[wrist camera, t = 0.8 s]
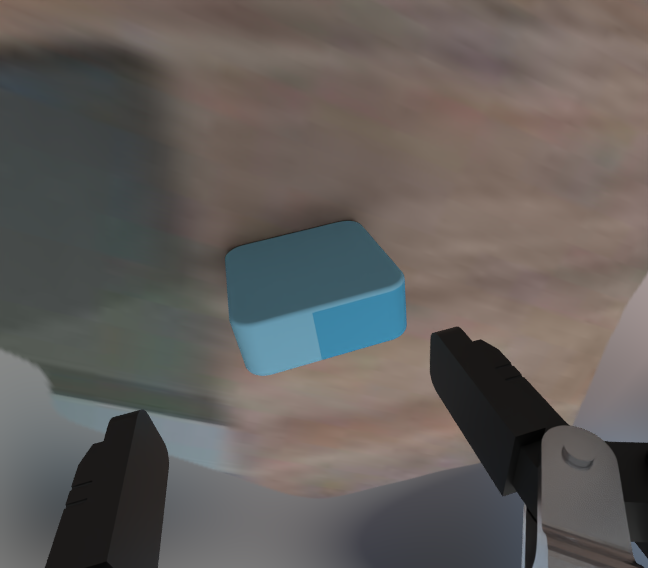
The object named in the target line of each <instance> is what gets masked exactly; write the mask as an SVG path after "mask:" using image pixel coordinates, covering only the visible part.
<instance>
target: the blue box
mask: <svg viewBox="0 0 648 568" xmlns="http://www.w3.org/2000/svg"><path fill="white" fill-rule="evenodd" d="M225 265H226V279H227V293H228V307H229V320H230V323H231V326H232V329H233V332H234V334H235V337H236V340H237V343H238V346H239V349H240V351H241V354H242V357H243V360H244V363H245V366H246V368H247V369H248V370H249V371H250V372H251V373H253V374H256V375H261V376H265V375H271V374H275V373H278V372H282V371H285V370H289V369H292V368H296V367H299V366H303V365H306V364H310V363H313V362H317V361H320V360H323V359H327V358H330V357H334V356H337V355H341V354H344V353H348V352H351V351H355V350H358V349H362V348H365V347H369V346H372V345H375V344H379V343H382V342H386V341H389V340H393V339H395V338H397V337H399V336H400V335H402V334H403V332H404V331H405V329H406V325H407V322H406V301H405V279H404V274H403V273H402V271H401V270H400V269H399V268H398V267H397V266H396V264H395V263H394V262H393V261H392V260H391V259H390V257H389V256H388V255H387V254H386V253H385V252H384V251H383V249H382V248H381V247H380V246H379V245H378V244H377V242H376V241H375V240H374V239H373V238H372V237H371V236H370V234H369V233H368V232H367V231H366V230H365V229H364V228H363V226H362V225H361V224H359V223H358V222H354V221H341V222H336V223H332V224H328V225H324V226H320V227H316V228H312V229H308V230H303V231H299V232H295V233H291V234H287V235H283V236H279V237H275V238H271V239H266V240H262V241H258V242H254V243H250V244H246V245H242V246H239V247H236V248H234V249H232V250H231V251H230V252H229V253H228V254H227V255H226V257H225Z"/></svg>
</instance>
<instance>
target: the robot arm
mask: <svg viewBox="0 0 648 568" xmlns="http://www.w3.org/2000/svg"><path fill="white" fill-rule="evenodd" d="M430 375H431V380H432V383H433V385H434V388H435V390H436V392H437V393H438V395H439V397H440V398H441V400H442V401H443V403H444V404H445V406H446V408H447V409H448V411H449V412H450V414H451V416H452V417H453V419H454V420H455V422H456V423H457V425H458V427H459V428H460V430H461V431H462V433H463V435H464V436H465V438H466V439H467V441H468V442H469V444H470V446H471V447H472V449H473V450H474V452H475V454H476V455H477V457H478V458H479V460H480V461H481V463H482V464H483V466H484V468H485V469H486V471H487V472H488V474H489V476H490V477H491V479H492V480H493V482H494V483H495V485H496V487H497V488H498V490H499V491H500V493H501V495H502V496H506V495H509V494H512V493H515V492H517V493H518V494H519V496H520V497H521V499H522V500H523V501H524V503H525V504H524V513H523V543H522V544H523V545H522V568H644V567H643V566H642V565H639V564H637V563H636V561H635V559H634V557H633V553H632V547H631V542H635V543H636V544H637V545H638V547H639V548H640V549H641V550H642V552H643V553H644V554H645V556H646V557H647V558H648V443H634V442H607V441H603V440H602V439H601V438H599V437H598V436H596V435H595V434H593V433H591V432H589V431H587V430H585V429H582V428H579V427H574V426H570V425H568V424H567V423H566V422H565V421H564V420H563V419H562V418H561V417H560V416H559V414H558V413H557V412H556V411H555V410H554V409H553V408H552V407H551V406H550V405H549V404H548V403H547V401H546V400H545V399H544V398H543V397H542V396H541V395H540V394H539V393H538V392H537V391H536V390H535V388H534V387H533V386H532V385H531V384H530V383H529V382H528V381H527V380H526V379H525V378H524V377H522V375H521V373H520V372H519V371H518V370H517V369H516V368H515V367H514V366H512V365H511V362H510V361H509V360H508V359H507V358H506V357H505V356H504V355H503V354H502V353H501V352H500V350H499V349H497V348H495V347H493V346H492V345H490V344H488V343H486V342H485V341H483V340H481V339H480V340H477V341H473V342H472V340H471V339H470V338H469V337H468V336H467V335H466V333H465V332H464V331H463V330H462V329H461V328H460V327H453V328H450V329H446V330H442V331H438V332H435V333H432V334H431V340H430ZM168 470H169V458H168V452H167V448H166V445H165V443H164V441H163V439H162V438H161V436H160V434H159V432H158V431H157V429H156V427H155V426H154V424H153V422H152V420H151V419H150V417H149V415H148V413H147V412H146V411H145V410H143V409H142V410H138V411H135V412H131V413H127V414H123V415H120V416H116V417H113V418H111V420H110V421H109V424H108V427H107V431H106V434H105V438H104V441H103V442H99V443H95V444H93V445H92V446H91V448H90V449H89V451H88V452H87V453H86V455H85V456H84V458H83V459H82V461H81V462H80V464H79V465H78V468H77V471H76V474H75V477H74V480H73V483H72V490H71V491H70V493H69V495H68V499H67V502H66V509H64V511H63V514H62V517H61V520H60V523H59V526H58V529H57V532H56V535H55V538H54V542H53V545H52V548H51V551H50V554H49V557H48V560H47V563H46V566H45V568H158V560H159V551H160V542H161V533H162V524H163V515H164V506H165V497H166V487H167V479H168Z"/></svg>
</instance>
